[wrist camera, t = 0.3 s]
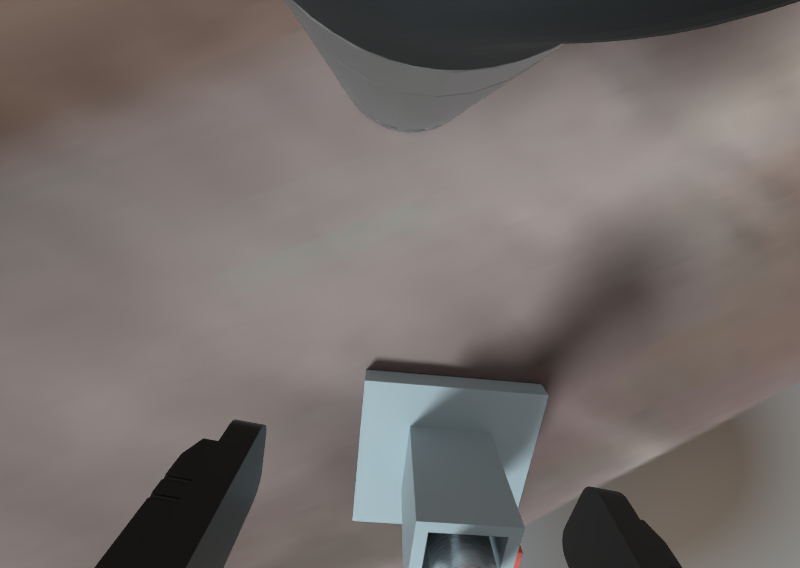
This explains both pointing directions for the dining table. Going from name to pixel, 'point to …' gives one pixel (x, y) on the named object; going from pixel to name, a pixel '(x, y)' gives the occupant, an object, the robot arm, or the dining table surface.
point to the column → (460, 551)
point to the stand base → (446, 458)
